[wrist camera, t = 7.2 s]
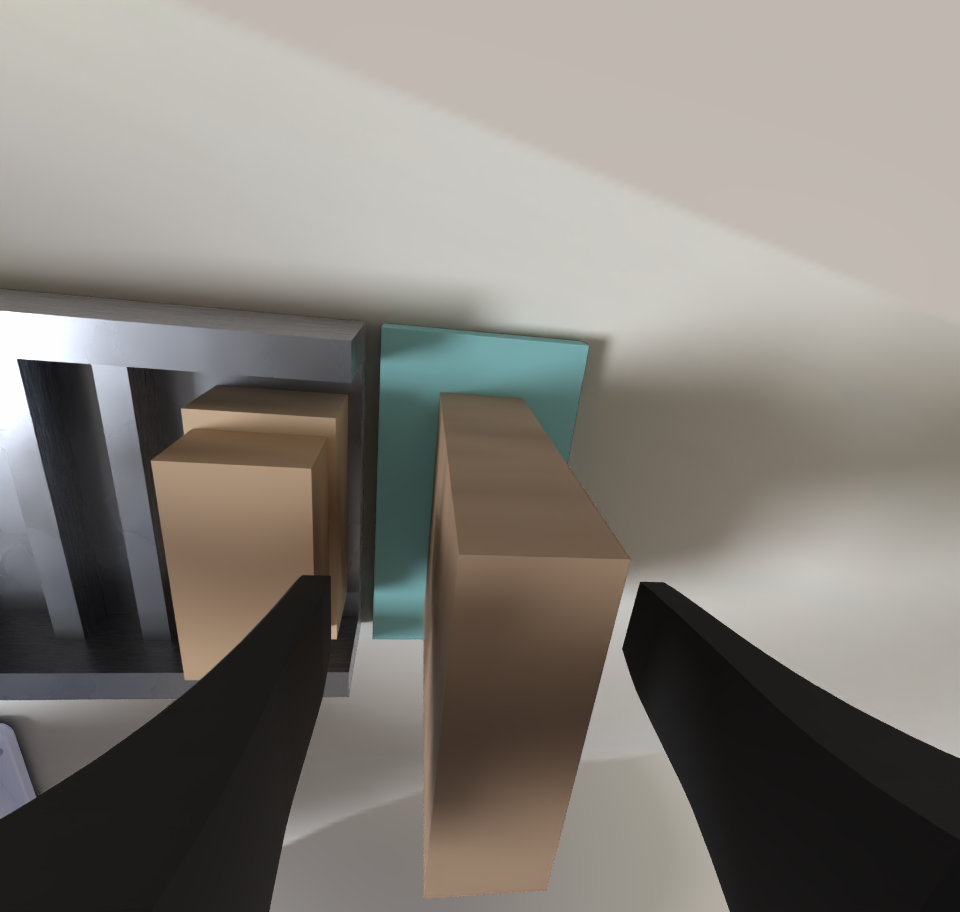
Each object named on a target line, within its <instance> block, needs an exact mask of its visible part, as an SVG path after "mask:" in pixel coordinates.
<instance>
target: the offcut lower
mask: <svg viewBox="0 0 960 912" xmlns="http://www.w3.org/2000/svg"><path fill="white" fill-rule="evenodd" d="M181 414H182V422H183V430H184V435H185V434H186V433H187V432H188V431H190V430H191V429H206V430H223V431H240V432H257V433H274V434H291V435H308V436H325V437H328V516H329V576H331V639H337V636H338V631H339V627H340V622H341V618H342V613H343V609H344V604H345V600H346V595H347V489H348V395H345V394H331V393H317V392H303V391H288V390H274V389H260V388H246V387H232V386H218V385H216V386H214V387H213V388H211V389H210V390H208V391H207V392H205V393H204V394H202V395H201V396H199V397H198V398H196V399H194V400H193V401H191V402H190V403H188V404H187V405H185V406H184V407H182V408H181Z"/></svg>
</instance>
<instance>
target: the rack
mask: <svg viewBox="0 0 960 912" xmlns="http://www.w3.org/2000/svg"><path fill="white" fill-rule="evenodd" d="M365 359H366V322H364V321H353V320H342V319H331V318H320V317H309V316H298V315H287V314H276V313H265V312H254V311H243V310H232V309H221V308H209V307H198V306H187V305H176V304H165V303H154V302H143V301H132V300H121V299H110V298H99V297H88V296H77V295H66V294H55V293H44V292H33V291H22V290H10V289H0V700H72V699H172V698H179V697H180V696H182V695H183V694H184V693H185V692H186V691H188V690H189V689H190V688H191V687H192V686H193V685H195V684H196V683H197V682H198V681H199V680H185V678H184V671H183V665H182V658H181V652H180V646H179V639H178V633H177V626H176V620H175V613H174V607H173V601H172V594H171V588H170V581H169V575H168V568H167V562H166V555H165V549H164V543H163V536H162V530H161V523H160V517H159V510H158V504H157V497H156V491H155V485H154V478H153V472H152V465H151V460H152V459H154V458H155V457H156V456H157V455H159V454H160V453H161V452H163V451H164V450H165V449H166V448H168V447H169V446H170V445H172V444H173V443H174V442H176V441H177V440H178V439H179V438H181V437H182V436H183V435H184V430H183V422H182V414H181V408H182V407H184V406H185V405H187V404H188V403H190V402H191V401H193V400H194V399H196V398H198V397H199V396H201V395H202V394H204V393H205V392H207V391H208V390H210V389H211V388H213V387H214V386H216V385H218V386H232V387H246V388H260V389H274V390H288V391H303V392H317V393H331V394H345V395H348V489H347V595H346V600H345V604H344V609H343V613H342V618H341V622H340V627H339V631H338V636H337V639H331V654H330V660H329V666H328V672H327V678H326V683H325V689H324V694H323V697H349V692H350V686H351V680H352V674H353V668H354V662H355V656H356V650H357V644H358V638H359V632H360V626H361V587H362V530H363V473H364V416H365Z"/></svg>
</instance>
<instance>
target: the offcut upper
mask: <svg viewBox="0 0 960 912" xmlns="http://www.w3.org/2000/svg"><path fill="white" fill-rule="evenodd" d="M151 465H152V472H153V478H154V485H155V491H156V497H157V504H158V510H159V517H160V523H161V530H162V536H163V543H164V549H165V555H166V562H167V568H168V575H169V581H170V588H171V594H172V601H173V607H174V613H175V620H176V626H177V633H178V639H179V646H180V652H181V658H182V665H183V671H184V678H185V680H200V679H201V678H203V677H204V676H205V675H206V674H207V673H208V672H209V671H210V670H211V669H212V668H213V667H215V666H216V665H217V664H218V663H219V662H220V661H221V660H222V659H223V658H224V657H225V656H226V655H227V654H228V653H229V652H230V651H231V650H232V649H234V648H235V647H236V646H237V645H238V644H239V643H240V642H241V641H242V640H243V639H244V638H245V637H246V636H247V634H248V633H249V632H250V631H251V630H252V629H253V628H254V627H255V626H256V625H257V624H258V623H259V622H260V621H261V620H262V619H263V618H264V617H265V616H266V614H267V613H268V612H269V611H270V610H271V609H272V608H273V607H274V606H275V604H276V603H277V602H278V601H279V600H280V599H281V598H282V596H283V595H284V594H285V593H286V592H287V591H288V589H289V588H290V587H291V586H292V585H293V583H294V582H295V581H296V580H297V579H298V578H299V577H300V576H302V575H324V576H329V516H328V437H325V436H308V435H291V434H274V433H257V432H240V431H223V430H206V429H191V430H190V431H188V432H187V433H186V434H185V435H183V436H182V437H181V438H179V439H178V440H177V441H176V442H174V443H173V444H172V445H170V446H169V447H168V448H166V449H165V450H164V451H163V452H161V453H160V454H159V455H157V456H156V457H155V458H154V459H152V460H151Z"/></svg>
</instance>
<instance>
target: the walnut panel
mask: <svg viewBox="0 0 960 912" xmlns="http://www.w3.org/2000/svg"><path fill="white" fill-rule="evenodd" d="M630 561H631V559H630V558H629V556H628V555H627V553H626V552H625V550H624V549H623V547H622V546H621V544H620V543H619V541H618V540H617V538H616V537H615V535H614V534H613V532H612V531H611V529H610V528H609V526H608V525H607V523H606V522H605V520H604V519H603V517H602V516H601V514H600V513H599V511H598V510H597V508H596V507H595V505H594V504H593V502H592V501H591V499H590V498H589V496H588V495H587V493H586V492H585V490H584V489H583V487H582V486H581V484H580V483H579V481H578V480H577V478H576V477H575V475H574V474H573V472H572V471H571V469H570V468H569V467H568V465H567V464H566V462H565V461H564V459H563V458H562V456H561V455H560V453H559V452H558V450H557V449H556V447H555V446H554V444H553V443H552V441H551V440H550V438H549V437H548V435H547V434H546V432H545V431H544V429H543V428H542V426H541V425H540V423H539V422H538V420H537V419H536V417H535V416H534V414H533V413H532V411H531V410H530V408H529V407H528V405H527V404H526V402H525V401H524V399H523V398H511V397H497V396H483V395H470V394H456V393H442V392H440V399H439V412H438V425H437V439H436V452H435V465H434V479H433V492H432V505H431V519H430V532H429V545H428V558H427V572H426V585H425V598H424V898H438V897H453V896H468V895H485V894H498V893H499V894H500V893H515V892H531V891H546V890H547V887H548V883H549V879H550V875H551V871H552V867H553V863H554V860H555V856H556V852H557V848H558V844H559V840H560V836H561V832H562V828H563V824H564V820H565V816H566V812H567V808H568V805H569V801H570V797H571V793H572V789H573V784H574V781H575V777H576V773H577V769H578V765H579V761H580V757H581V753H582V750H583V746H584V742H585V738H586V734H587V730H588V726H589V722H590V718H591V714H592V710H593V706H594V702H595V698H596V695H597V691H598V687H599V683H600V679H601V675H602V671H603V667H604V663H605V659H606V655H607V651H608V647H609V643H610V640H611V636H612V632H613V628H614V624H615V620H616V616H617V612H618V608H619V604H620V600H621V596H622V592H623V588H624V585H625V581H626V577H627V573H628V569H629V565H630Z"/></svg>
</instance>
